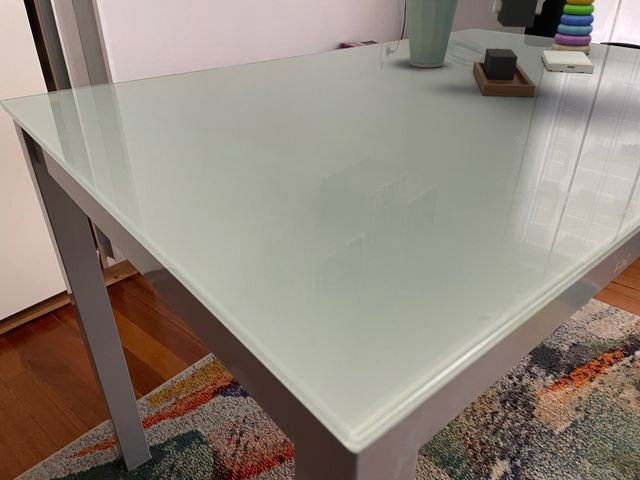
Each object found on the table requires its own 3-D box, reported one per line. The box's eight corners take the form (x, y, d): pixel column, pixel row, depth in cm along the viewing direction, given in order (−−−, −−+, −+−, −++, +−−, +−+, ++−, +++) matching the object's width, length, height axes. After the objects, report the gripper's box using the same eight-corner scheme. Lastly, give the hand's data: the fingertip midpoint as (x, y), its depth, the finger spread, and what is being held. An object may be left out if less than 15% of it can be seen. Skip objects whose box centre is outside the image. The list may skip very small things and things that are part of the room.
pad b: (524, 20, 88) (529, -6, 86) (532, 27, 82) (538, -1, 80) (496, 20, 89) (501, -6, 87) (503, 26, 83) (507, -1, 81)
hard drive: (542, 49, 111) (549, 62, 101) (584, 51, 110) (595, 64, 99) (541, 58, 112) (547, 71, 102) (582, 59, 110) (592, 73, 100)
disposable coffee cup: (441, 73, 101) (450, -14, 93) (390, 66, 106) (395, -16, 98) (459, 62, 109) (469, -19, 101) (411, 56, 113) (417, -21, 106)
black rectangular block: (507, 71, 99) (511, 49, 97) (513, 80, 94) (517, 56, 91) (482, 70, 100) (486, 48, 98) (487, 79, 94) (491, 56, 92)
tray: (515, 72, 101) (517, 63, 100) (533, 97, 86) (535, 86, 85) (472, 71, 102) (474, 61, 101) (482, 95, 87) (484, 84, 86)
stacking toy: (594, 52, 117) (618, -44, 107) (581, 57, 112) (605, -42, 102) (559, 47, 121) (579, -45, 112) (544, 52, 116) (564, -43, 107)
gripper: (464, -89, 76) (451, 14, 83) (613, -89, 74) (587, 17, 81) (460, -87, 82) (449, 9, 89) (599, -88, 79) (576, 11, 86)
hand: (516, 13), depth 85 cm, fingers closed on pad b, 4 cm apart
